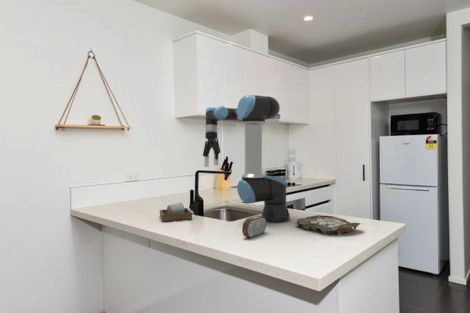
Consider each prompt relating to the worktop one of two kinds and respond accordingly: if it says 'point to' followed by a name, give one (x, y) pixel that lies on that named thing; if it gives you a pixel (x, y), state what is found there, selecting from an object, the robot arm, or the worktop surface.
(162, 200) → the worktop surface
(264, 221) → the tin
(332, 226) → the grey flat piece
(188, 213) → the walnut box
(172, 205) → the ceramic mug
